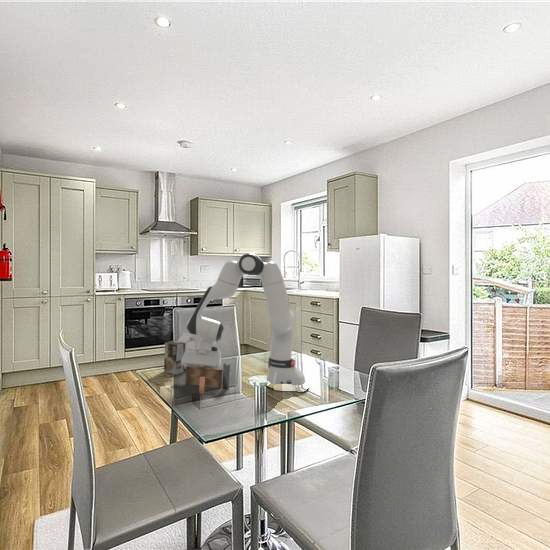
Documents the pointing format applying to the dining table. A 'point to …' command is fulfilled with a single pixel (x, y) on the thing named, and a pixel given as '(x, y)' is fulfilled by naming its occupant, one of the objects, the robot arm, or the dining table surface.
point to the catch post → (202, 385)
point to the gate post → (226, 376)
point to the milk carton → (187, 342)
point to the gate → (211, 376)
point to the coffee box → (174, 357)
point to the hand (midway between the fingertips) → (197, 374)
